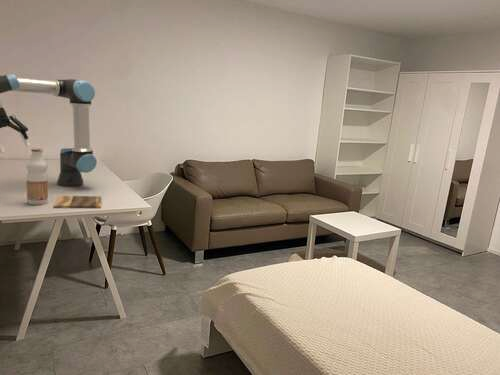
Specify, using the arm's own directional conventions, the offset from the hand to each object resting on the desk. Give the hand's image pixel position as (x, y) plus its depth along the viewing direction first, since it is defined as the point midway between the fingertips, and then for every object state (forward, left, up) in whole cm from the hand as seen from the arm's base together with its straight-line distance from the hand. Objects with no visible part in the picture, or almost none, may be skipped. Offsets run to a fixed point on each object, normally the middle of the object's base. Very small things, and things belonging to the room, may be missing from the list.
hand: (16, 148), depth 194 cm
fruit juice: (0, +14, -26) cm, 30 cm away
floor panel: (-13, +29, -26) cm, 41 cm away
